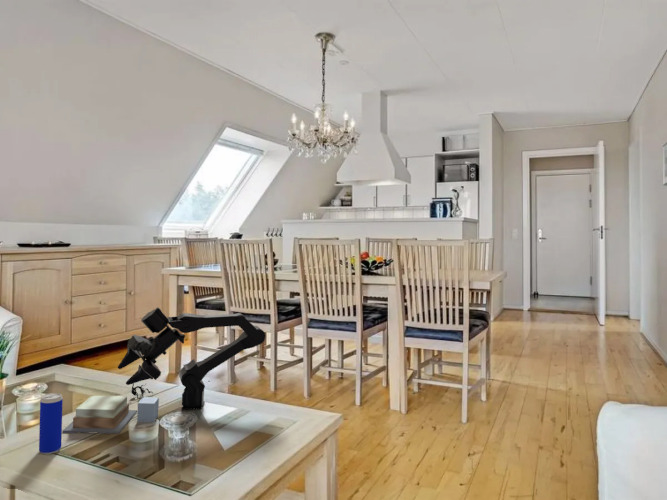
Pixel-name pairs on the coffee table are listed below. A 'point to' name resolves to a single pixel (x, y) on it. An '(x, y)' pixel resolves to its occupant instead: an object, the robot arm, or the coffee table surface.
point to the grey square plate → (102, 430)
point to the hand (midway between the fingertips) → (122, 376)
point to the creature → (140, 389)
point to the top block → (147, 409)
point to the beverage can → (50, 423)
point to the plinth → (100, 420)
